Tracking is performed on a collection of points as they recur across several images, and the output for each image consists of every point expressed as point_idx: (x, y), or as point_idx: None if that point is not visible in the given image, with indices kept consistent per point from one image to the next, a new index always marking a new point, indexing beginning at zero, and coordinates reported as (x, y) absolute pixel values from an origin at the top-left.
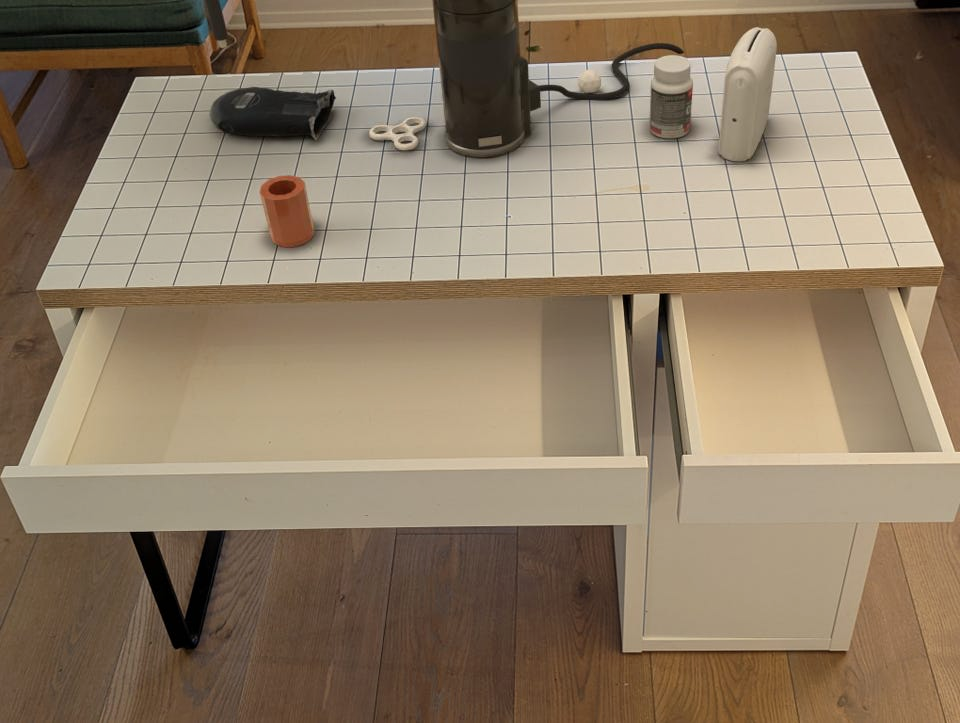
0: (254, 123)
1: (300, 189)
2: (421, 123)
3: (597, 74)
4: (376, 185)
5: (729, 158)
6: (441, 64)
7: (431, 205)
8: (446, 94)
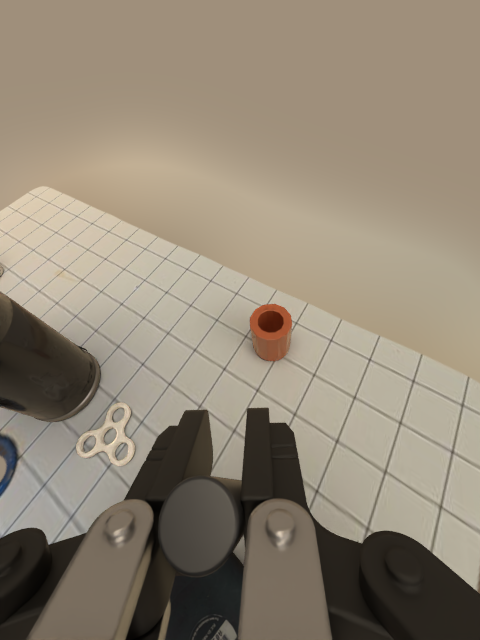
0: (229, 560)
1: (257, 309)
2: (84, 435)
3: None
4: (180, 371)
5: (2, 269)
6: (37, 354)
7: (165, 323)
8: (62, 362)
